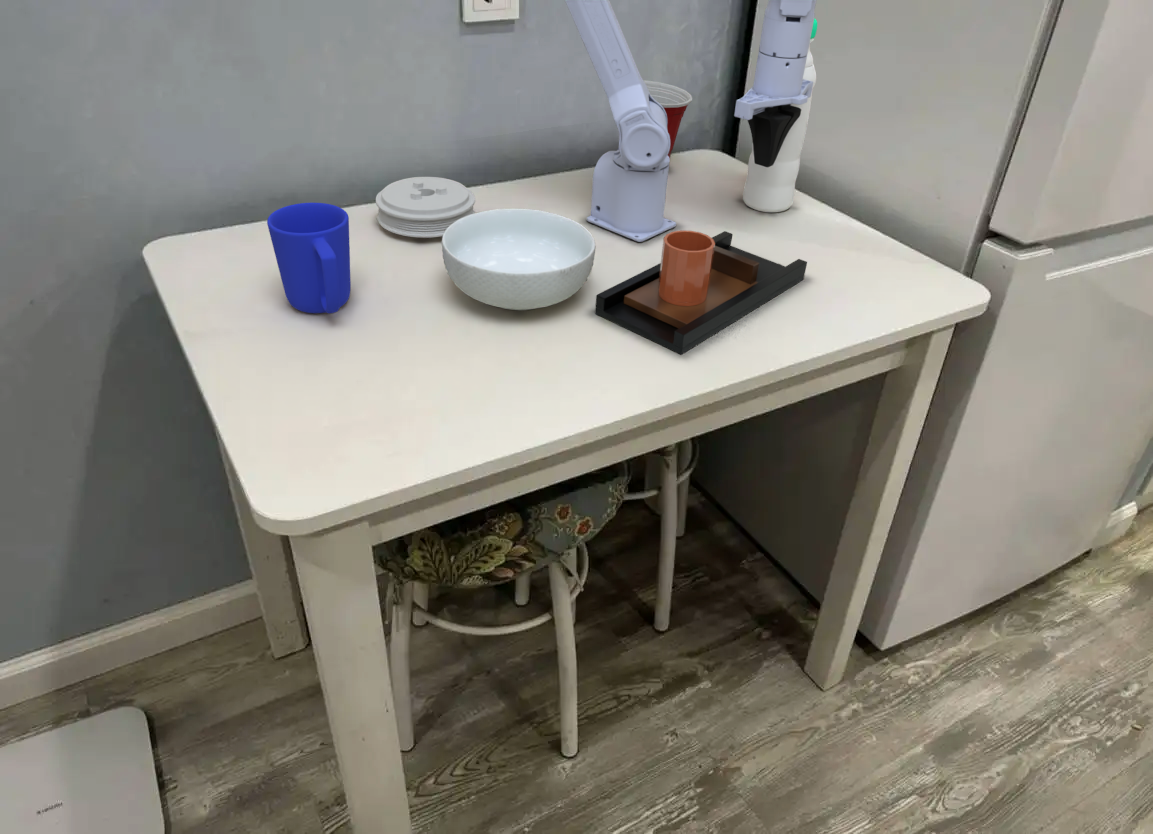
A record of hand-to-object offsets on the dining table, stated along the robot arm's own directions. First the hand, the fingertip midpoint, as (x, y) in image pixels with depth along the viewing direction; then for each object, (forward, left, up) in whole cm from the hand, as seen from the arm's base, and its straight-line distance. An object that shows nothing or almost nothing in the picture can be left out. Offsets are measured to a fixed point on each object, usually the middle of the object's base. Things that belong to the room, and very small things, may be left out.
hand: (763, 164), depth 114 cm
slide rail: (+6, -20, -9) cm, 22 cm away
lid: (-31, -30, -10) cm, 44 cm away
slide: (+6, -22, -9) cm, 24 cm away
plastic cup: (-24, +8, -10) cm, 27 cm away
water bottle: (-4, +10, -10) cm, 14 cm away
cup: (+6, -24, -8) cm, 26 cm away
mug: (-21, -53, -10) cm, 58 cm away
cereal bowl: (-9, -35, -10) cm, 37 cm away
